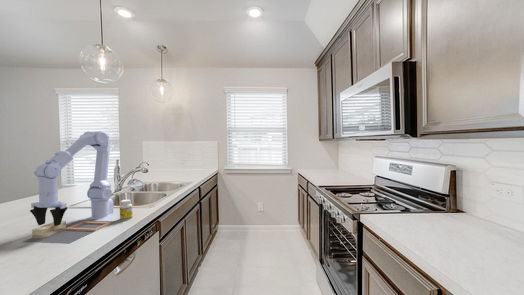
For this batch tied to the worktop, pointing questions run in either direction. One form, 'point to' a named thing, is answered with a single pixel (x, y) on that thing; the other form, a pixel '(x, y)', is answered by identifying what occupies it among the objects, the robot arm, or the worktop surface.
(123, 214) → the supplement bottle
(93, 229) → the terracotta frame
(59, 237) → the rubber mat
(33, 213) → the robot arm
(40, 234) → the cream long block
